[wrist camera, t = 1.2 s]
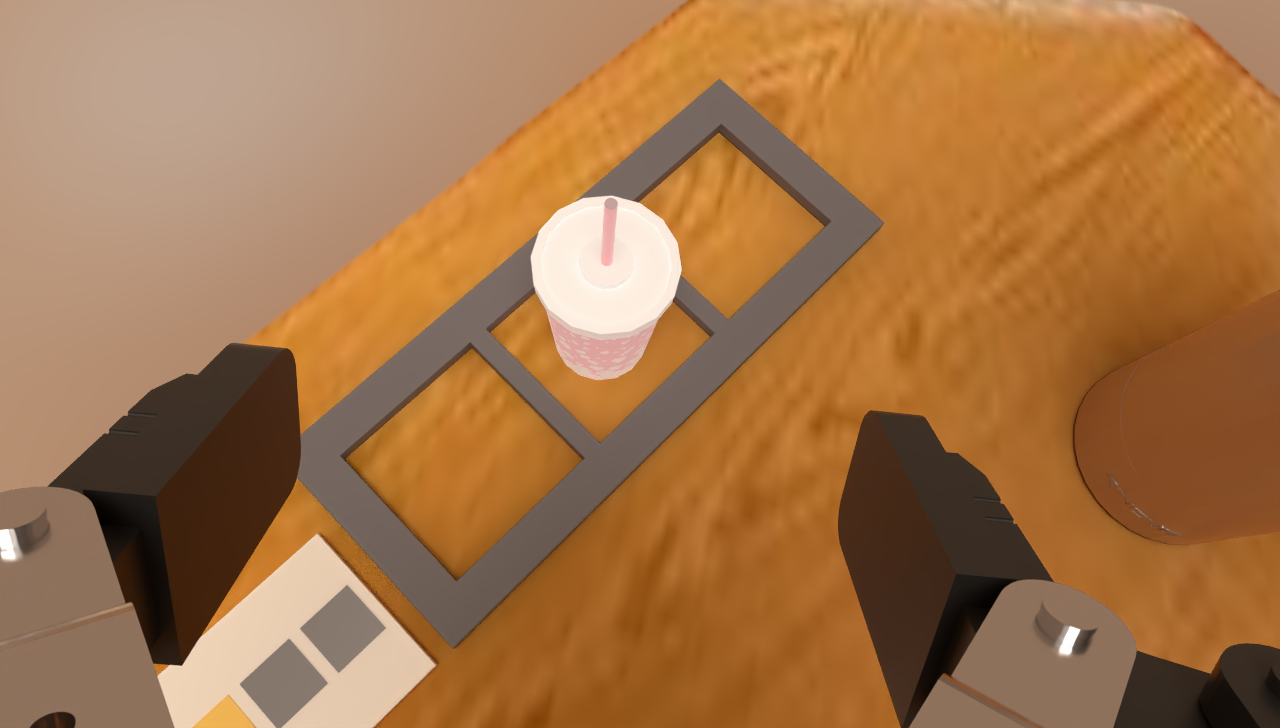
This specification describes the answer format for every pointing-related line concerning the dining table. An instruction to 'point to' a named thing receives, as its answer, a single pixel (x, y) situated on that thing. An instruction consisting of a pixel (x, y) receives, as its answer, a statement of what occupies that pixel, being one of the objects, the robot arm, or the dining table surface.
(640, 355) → the beverage cup
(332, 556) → the card
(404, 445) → the dining table surface
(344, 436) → the grey flat frame
